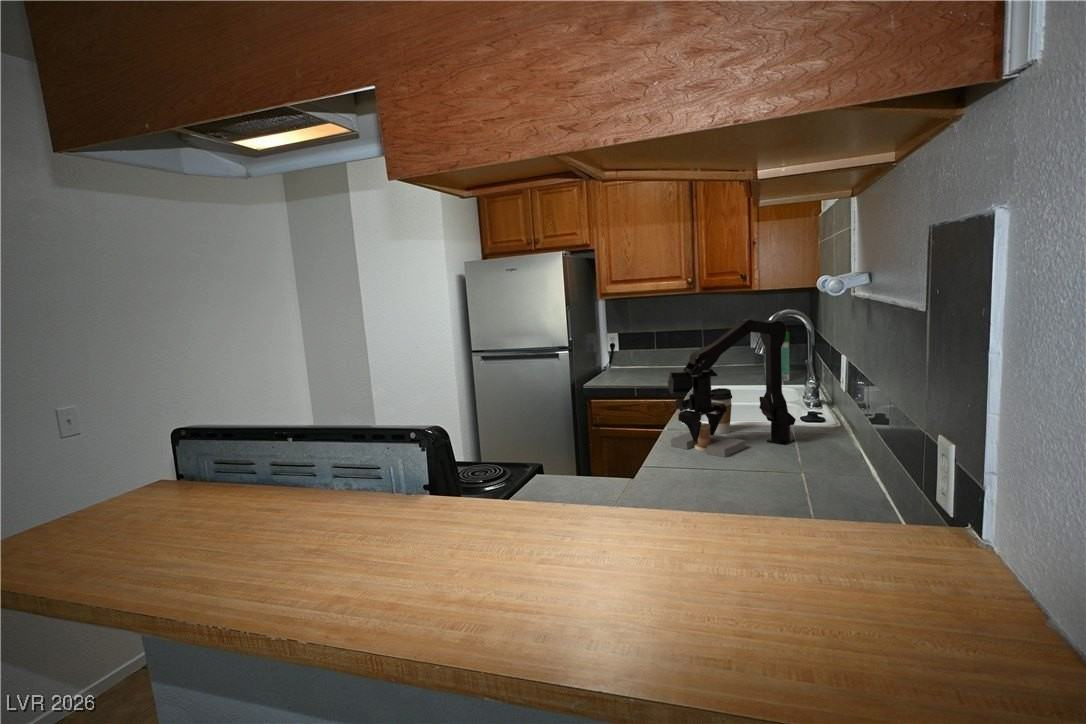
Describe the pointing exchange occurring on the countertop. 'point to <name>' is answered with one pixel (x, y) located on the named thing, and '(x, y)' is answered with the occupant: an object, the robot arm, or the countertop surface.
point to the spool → (703, 438)
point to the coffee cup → (725, 397)
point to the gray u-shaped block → (717, 447)
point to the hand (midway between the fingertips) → (703, 438)
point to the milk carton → (783, 360)
